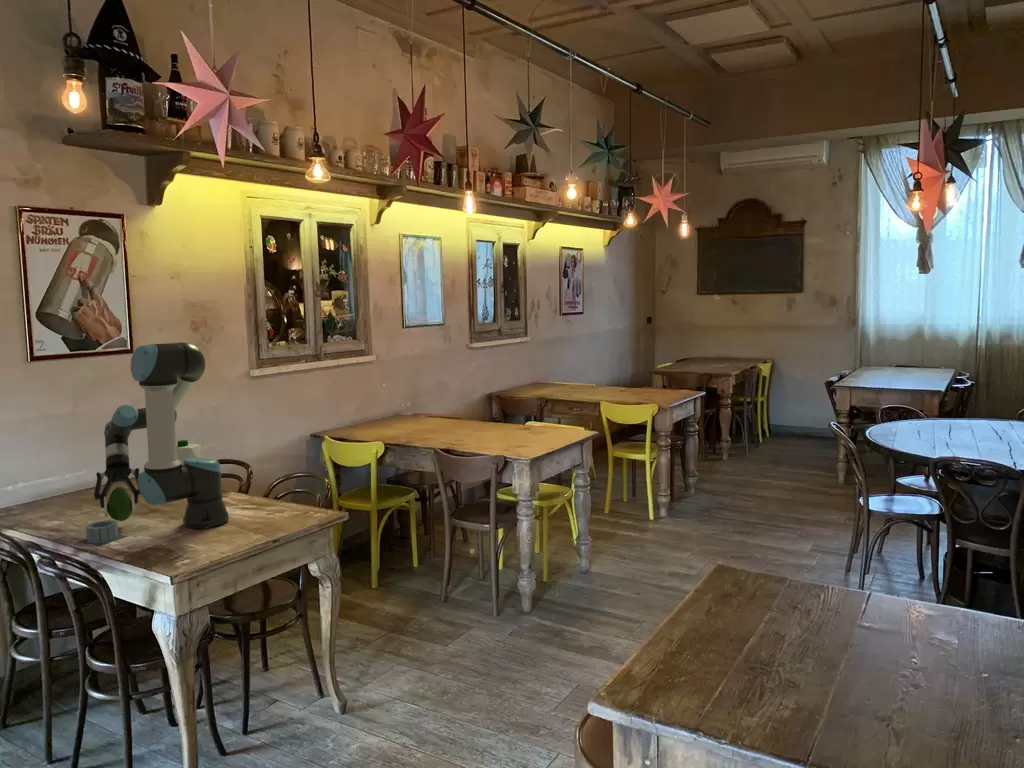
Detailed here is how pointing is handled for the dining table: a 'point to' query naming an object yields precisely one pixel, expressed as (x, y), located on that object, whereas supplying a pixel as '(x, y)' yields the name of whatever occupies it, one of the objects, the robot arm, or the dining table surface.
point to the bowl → (102, 531)
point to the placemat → (102, 543)
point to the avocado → (119, 504)
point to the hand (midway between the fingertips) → (120, 512)
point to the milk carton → (187, 450)
